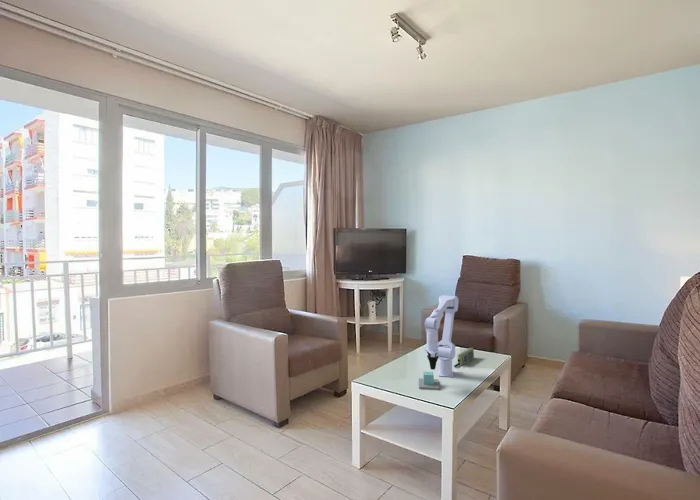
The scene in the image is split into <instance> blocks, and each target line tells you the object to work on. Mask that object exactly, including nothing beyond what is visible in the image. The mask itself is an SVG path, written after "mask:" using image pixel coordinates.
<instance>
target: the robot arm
mask: <svg viewBox="0 0 700 500" xmlns="http://www.w3.org/2000/svg"><path fill="white" fill-rule="evenodd" d="M458 310H459V297H458V296H457V295H445V294H444V295H443V294H441V295H440V296H438V305H437V308H434V309H433V311H432V313H430V316H428V317H427V318H425V320H424V328H425V332H426V348H424V351H425V352H426V353H427V355H426V357H427V359H428V362H429V367H430V370H432V371H434V370H436V366H437V362H438V369H437V375H438V377H447V378H448V377H450V378H451V377H453V378H454V373H453V360H454V359H455V357H456V345H455V344H454V343H453V342H452V337H453V336H452V335H453V327H454V319H455V313H456V312H458ZM444 313H445V315H444ZM443 317H444V320H443V321H444V323H443V331H442V337H441V340H440V341H439V329H440V325H441V321H442V319H443Z"/></svg>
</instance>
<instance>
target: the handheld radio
mask: <svg viewBox="0 0 700 500" xmlns="http://www.w3.org/2000/svg"><path fill="white" fill-rule="evenodd" d="M474 350H475V349H474V347H468V348H467V349H465V350H464V351H462V352H460V353H458V354H457V363H456V364H454V368H457V367H460V366H459V365H461V367H462V366H464V365H465V364H467V363H468V362H470V361H472V360H474V358H475V355H474V354H475V353H474ZM471 359H472V360H471Z"/></svg>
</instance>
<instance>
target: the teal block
mask: <svg viewBox="0 0 700 500" xmlns="http://www.w3.org/2000/svg"><path fill="white" fill-rule="evenodd" d="M434 374H435V373H434V371H422V376H423V378H422V379H423V382H424V385H434V379H435V377H434V376H435V375H434Z"/></svg>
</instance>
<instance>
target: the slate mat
mask: <svg viewBox="0 0 700 500" xmlns="http://www.w3.org/2000/svg"><path fill="white" fill-rule="evenodd" d="M418 389H419V390H435V391H439V390H440V385H439V379H437V378H434V385H424V382H423V378H418Z"/></svg>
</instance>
